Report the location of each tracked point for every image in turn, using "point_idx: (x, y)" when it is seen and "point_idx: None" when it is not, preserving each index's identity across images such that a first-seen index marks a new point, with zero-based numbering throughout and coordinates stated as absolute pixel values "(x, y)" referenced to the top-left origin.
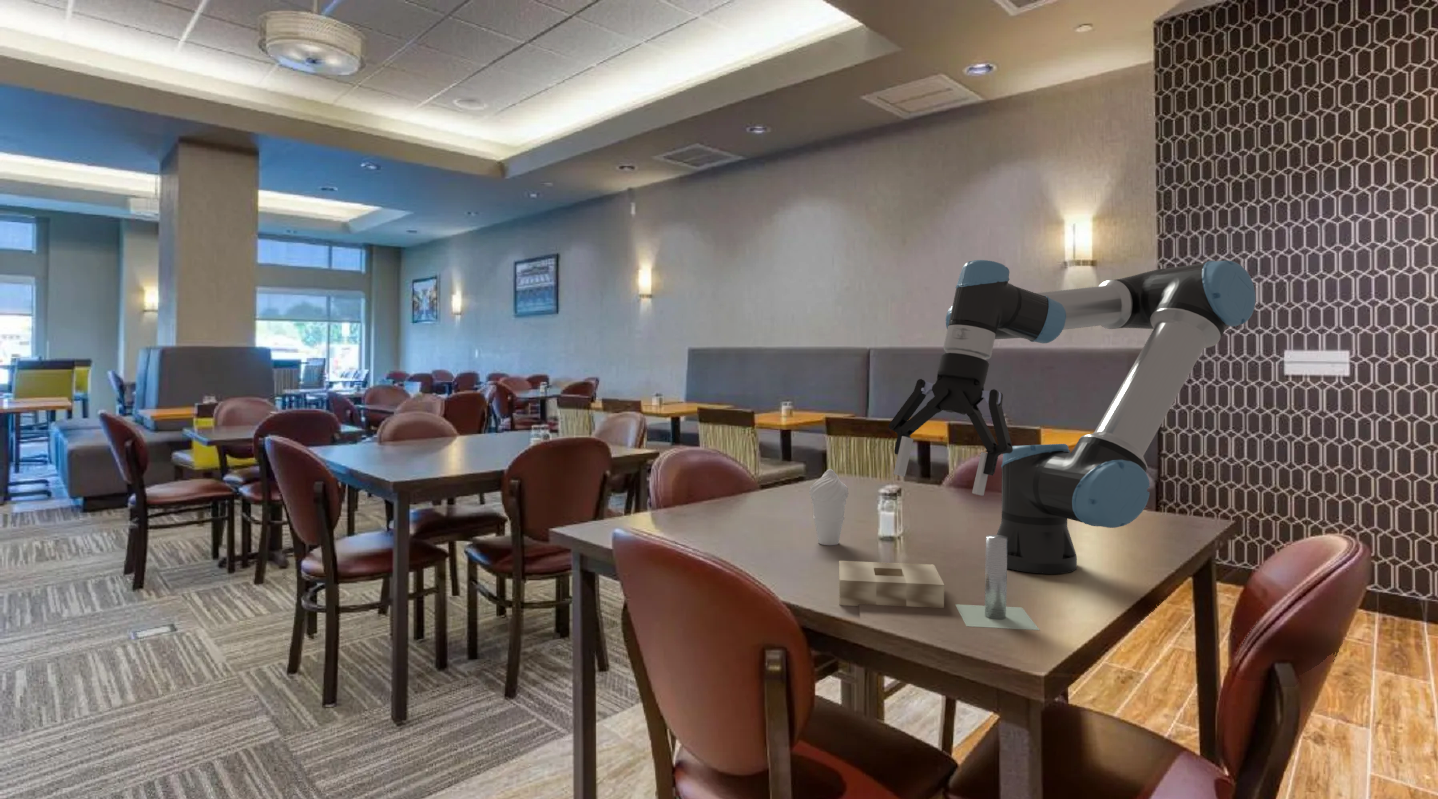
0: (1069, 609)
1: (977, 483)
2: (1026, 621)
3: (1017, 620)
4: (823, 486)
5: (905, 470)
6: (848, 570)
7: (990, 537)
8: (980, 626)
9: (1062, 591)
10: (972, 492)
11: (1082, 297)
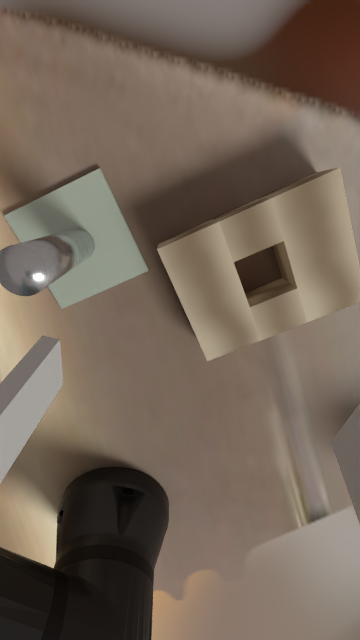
0: (12, 345)
1: (25, 361)
2: None
3: None
4: None
5: (341, 458)
6: (337, 245)
7: (30, 256)
8: (81, 179)
9: (47, 415)
10: (57, 341)
11: None
